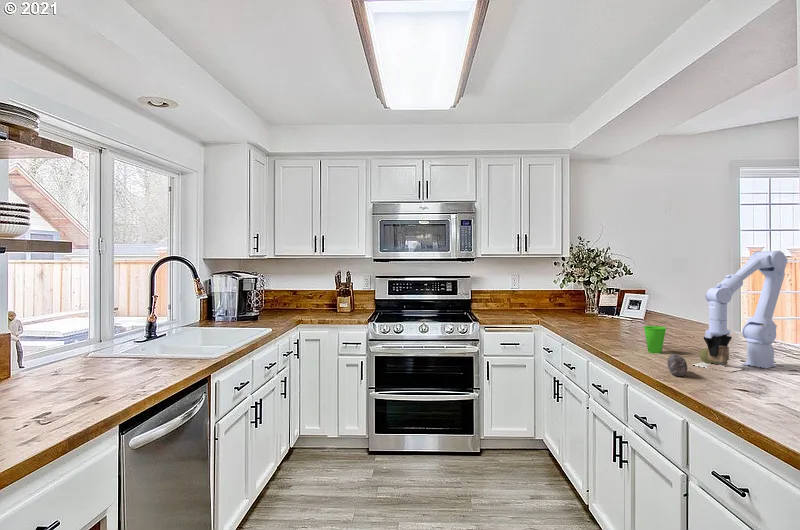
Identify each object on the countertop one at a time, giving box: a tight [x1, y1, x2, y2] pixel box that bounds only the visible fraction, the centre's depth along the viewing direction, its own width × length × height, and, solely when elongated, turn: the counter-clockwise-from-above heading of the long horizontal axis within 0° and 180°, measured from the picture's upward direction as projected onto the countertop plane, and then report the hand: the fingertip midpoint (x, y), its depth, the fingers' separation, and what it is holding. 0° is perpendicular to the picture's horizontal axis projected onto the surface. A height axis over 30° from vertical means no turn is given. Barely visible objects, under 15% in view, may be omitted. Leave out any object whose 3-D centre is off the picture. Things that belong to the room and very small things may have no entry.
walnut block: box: [707, 345, 730, 362], centre depth 182 cm, size 5×5×5 cm
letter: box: [692, 361, 709, 369], centre depth 183 cm, size 10×14×1 cm
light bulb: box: [698, 347, 729, 366], centre depth 187 cm, size 6×6×10 cm
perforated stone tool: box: [666, 353, 689, 377], centre depth 173 cm, size 15×5×7 cm, turn 159°
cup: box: [643, 325, 667, 354], centre depth 211 cm, size 9×9×11 cm
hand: (717, 355), depth 182 cm, fingers closed on walnut block, 5 cm apart
